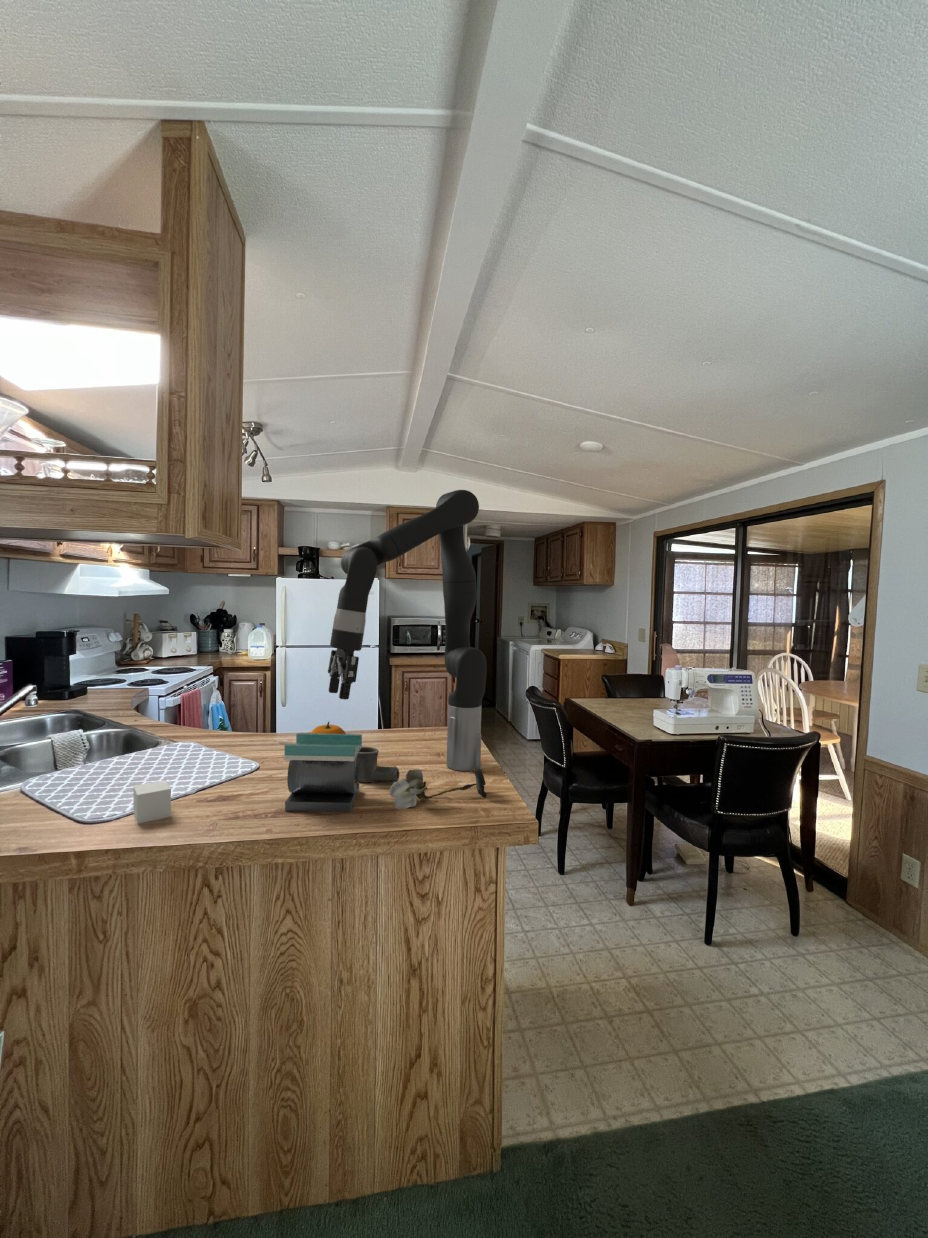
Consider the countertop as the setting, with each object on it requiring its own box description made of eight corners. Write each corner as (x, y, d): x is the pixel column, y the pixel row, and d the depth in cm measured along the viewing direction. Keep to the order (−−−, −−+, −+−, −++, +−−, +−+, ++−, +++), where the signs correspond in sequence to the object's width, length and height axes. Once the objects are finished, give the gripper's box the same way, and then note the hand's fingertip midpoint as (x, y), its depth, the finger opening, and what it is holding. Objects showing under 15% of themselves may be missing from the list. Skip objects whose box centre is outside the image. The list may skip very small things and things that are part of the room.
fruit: (335, 747, 163) (335, 715, 162) (355, 757, 154) (356, 722, 154) (298, 754, 155) (299, 720, 154) (318, 765, 146) (318, 728, 146)
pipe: (394, 788, 131) (394, 756, 130) (345, 783, 133) (345, 751, 133) (401, 780, 137) (402, 749, 136) (354, 775, 139) (355, 744, 139)
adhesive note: (133, 814, 112) (133, 785, 112) (165, 807, 116) (165, 780, 115) (137, 824, 107) (137, 794, 107) (170, 817, 111) (170, 788, 111)
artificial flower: (491, 808, 124) (490, 772, 120) (393, 825, 119) (390, 788, 116) (481, 785, 132) (480, 750, 128) (389, 800, 127) (386, 764, 124)
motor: (361, 791, 128) (362, 733, 127) (352, 812, 116) (353, 748, 115) (297, 790, 127) (298, 732, 127) (282, 811, 115) (283, 746, 115)
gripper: (373, 633, 125) (362, 702, 125) (353, 629, 138) (343, 691, 137) (342, 629, 122) (331, 700, 121) (324, 625, 134) (314, 689, 133)
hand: (338, 695), depth 129 cm, fingers open, 8 cm apart
